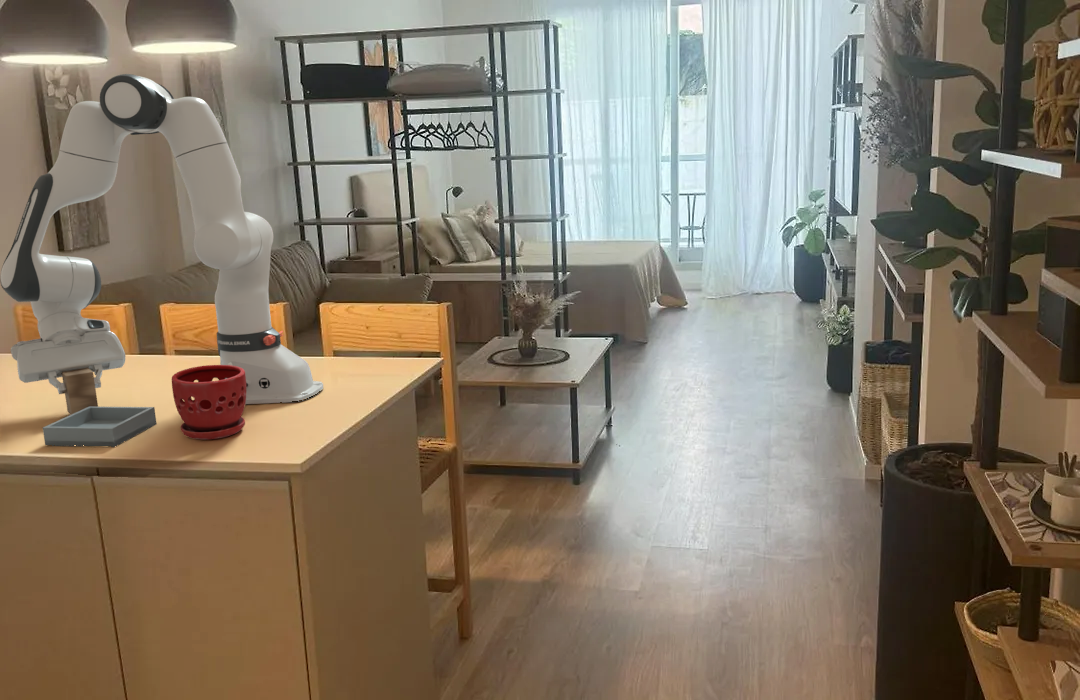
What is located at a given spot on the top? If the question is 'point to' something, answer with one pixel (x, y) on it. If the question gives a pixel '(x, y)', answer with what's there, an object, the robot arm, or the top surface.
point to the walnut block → (79, 389)
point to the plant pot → (210, 400)
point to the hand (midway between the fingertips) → (80, 389)
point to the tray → (99, 426)
